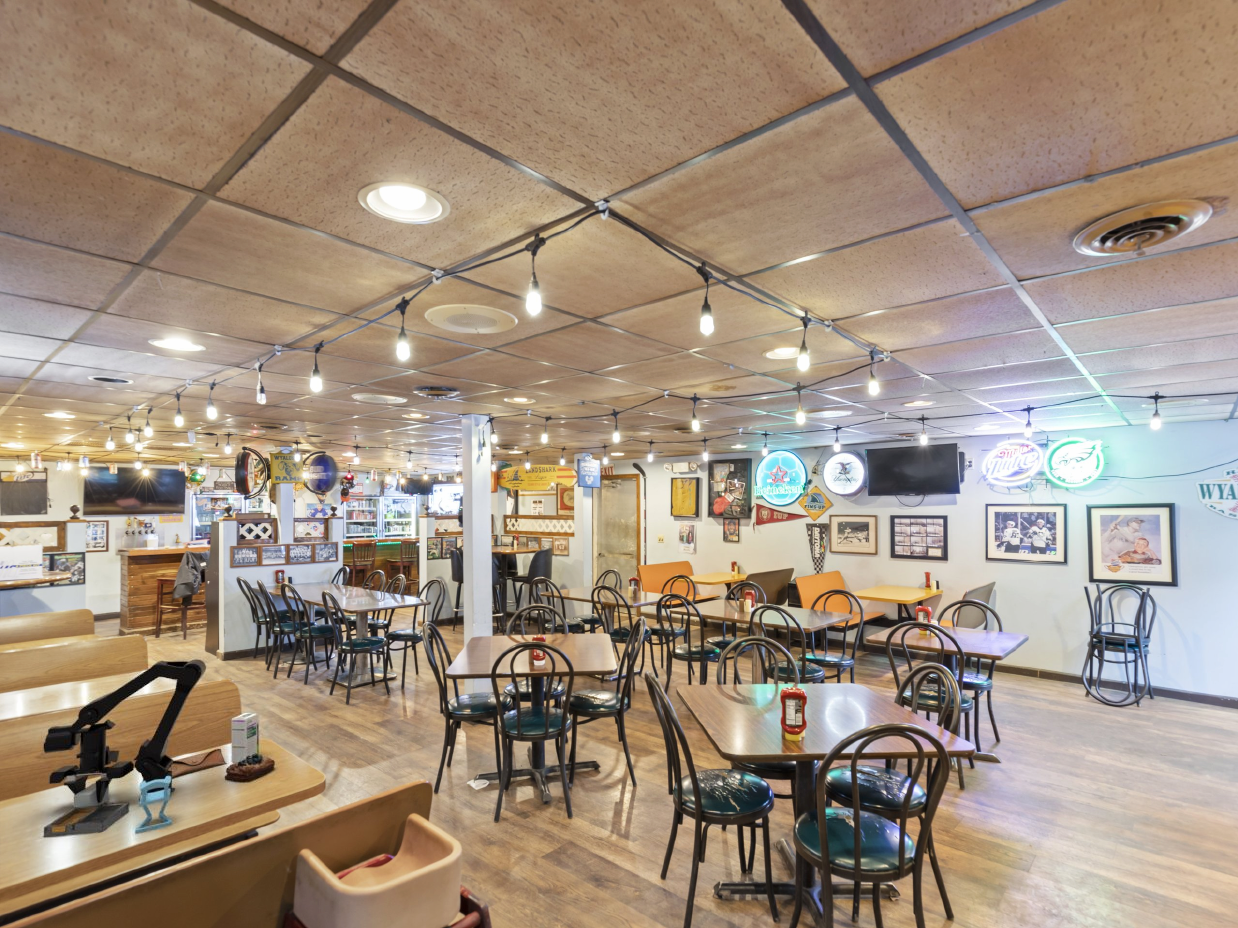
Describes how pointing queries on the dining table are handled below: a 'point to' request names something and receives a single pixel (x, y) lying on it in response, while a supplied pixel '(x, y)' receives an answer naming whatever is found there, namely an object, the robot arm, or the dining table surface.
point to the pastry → (249, 768)
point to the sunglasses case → (197, 763)
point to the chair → (153, 798)
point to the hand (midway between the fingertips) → (91, 802)
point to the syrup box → (245, 736)
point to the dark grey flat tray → (86, 819)
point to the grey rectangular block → (89, 797)
